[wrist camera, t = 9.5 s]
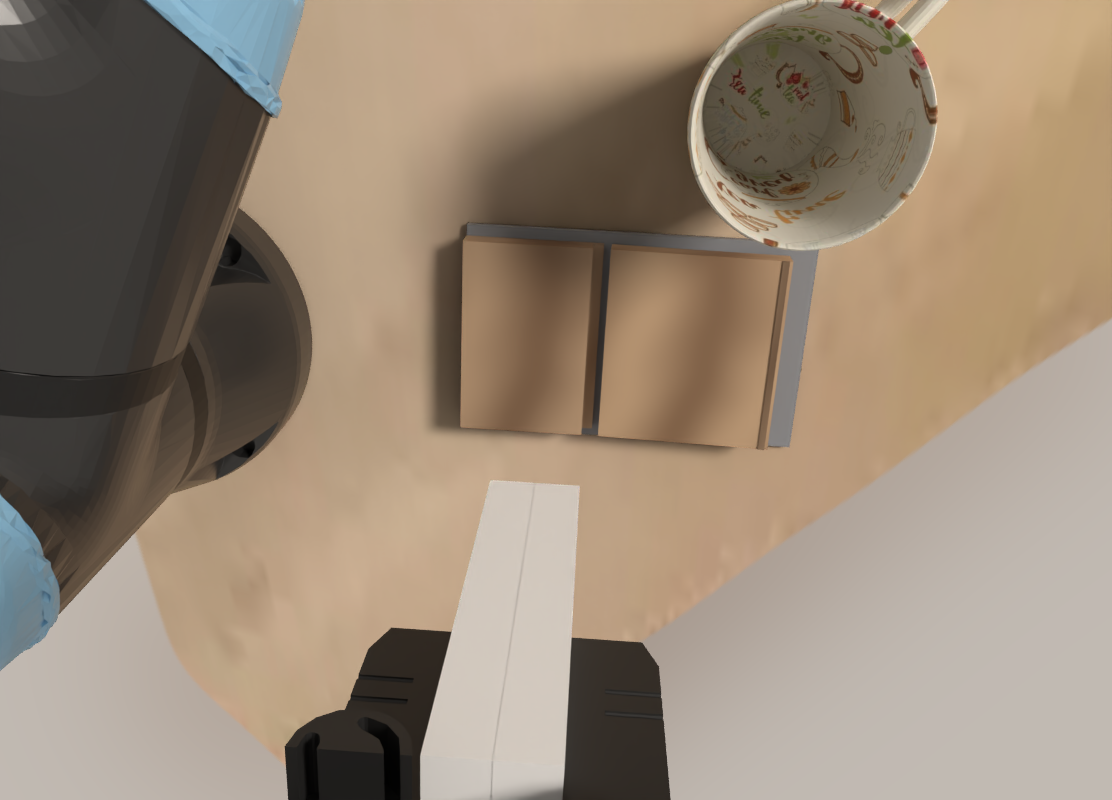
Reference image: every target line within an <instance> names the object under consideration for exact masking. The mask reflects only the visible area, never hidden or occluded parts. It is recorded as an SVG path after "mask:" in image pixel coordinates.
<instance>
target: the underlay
mask: <svg viewBox="0 0 1112 800" xmlns="http://www.w3.org/2000/svg"><path fill="white" fill-rule="evenodd" d="M467 235H471V236H488V237H505V238H523V239H540V240H557V241H575V242H592V243H604V256H603V270H602V285H601V300H600V315H599V330H598V345H597V360H596V375H595V389H594V404H593V419H592V428H582V430H581V434H589V435H598V428H599V414H600V400H601V385H602V371H603V357H604V342H605V328H606V314H607V299H608V285H609V271H610V257H611V247H612V244H618V245H633V246H648V247H663V248H678V249H693V250H708V251H723V252H739V253H754V254H769V255H784V256H790V257H791V259H792V260H793V269H792V276H791V283H790V290H789V297H788V304H787V311H786V319H785V326H784V333H783V340H782V347H781V354H780V362H779V369H778V376H777V383H776V390H775V397H774V404H773V412H772V419H771V426H770V433H769V440H768V446H780V447H789V446H790V439H791V433H792V426H793V419H794V413H795V406H796V399H797V392H798V386H799V379H800V372H801V365H802V359H803V352H804V345H805V339H806V332H807V325H808V318H809V312H810V305H811V298H812V292H813V285H814V278H815V271H816V265H817V258H818V251H819V250H812V251H791V250H783V249H777V248H773V247H769V246H766V245H763V244H760V243H758V242H755V241H753V240H751V239H743V238H725V237H708V236H690V235H673V234H655V233H638V232H620V231H603V230H585V229H568V228H551V227H533V226H516V225H498V224H481V223H468V224H467Z"/></svg>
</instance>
